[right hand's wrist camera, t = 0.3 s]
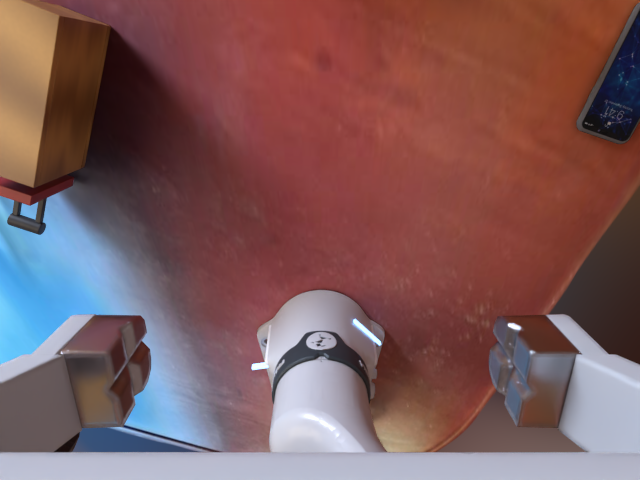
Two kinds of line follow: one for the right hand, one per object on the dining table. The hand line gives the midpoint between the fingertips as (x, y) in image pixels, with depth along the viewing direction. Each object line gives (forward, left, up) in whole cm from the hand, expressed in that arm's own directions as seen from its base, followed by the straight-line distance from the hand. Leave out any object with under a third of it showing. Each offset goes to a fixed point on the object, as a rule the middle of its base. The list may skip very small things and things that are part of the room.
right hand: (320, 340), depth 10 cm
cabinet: (+3, +30, -48) cm, 56 cm away
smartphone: (+5, -37, -48) cm, 61 cm away
